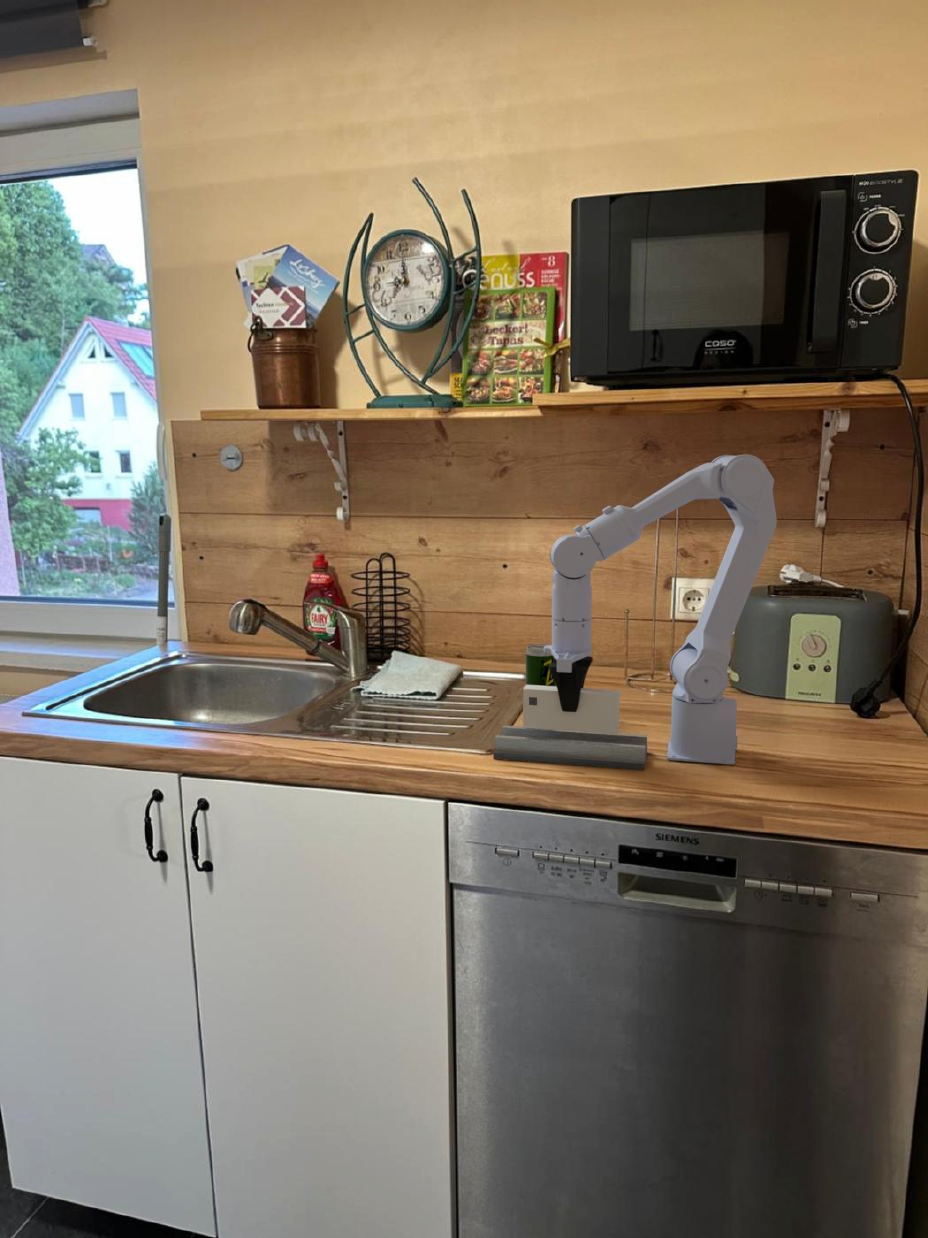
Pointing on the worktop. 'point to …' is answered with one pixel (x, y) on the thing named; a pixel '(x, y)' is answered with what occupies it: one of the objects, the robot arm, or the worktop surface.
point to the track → (572, 747)
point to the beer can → (538, 666)
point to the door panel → (591, 716)
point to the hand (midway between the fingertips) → (570, 708)
